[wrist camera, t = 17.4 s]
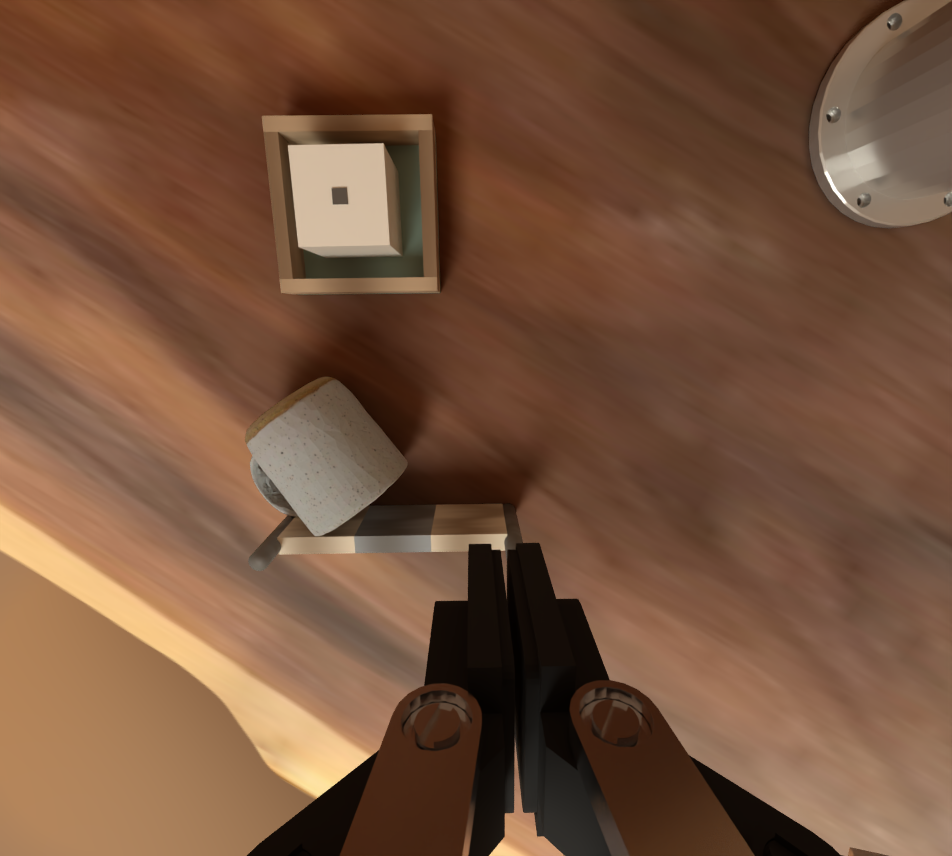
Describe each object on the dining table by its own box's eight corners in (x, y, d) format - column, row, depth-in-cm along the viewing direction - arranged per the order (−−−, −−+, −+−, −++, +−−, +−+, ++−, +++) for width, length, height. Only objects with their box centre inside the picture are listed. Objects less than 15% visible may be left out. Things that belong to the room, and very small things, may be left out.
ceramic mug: (343, 361, 32) (304, 377, 25) (417, 450, 34) (400, 490, 27) (235, 448, 34) (167, 487, 27) (310, 530, 36) (265, 588, 28)
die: (398, 170, 29) (383, 141, 24) (402, 256, 30) (389, 244, 25) (317, 172, 29) (285, 143, 24) (325, 257, 30) (296, 246, 25)
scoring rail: (515, 503, 35) (526, 548, 28) (515, 518, 35) (525, 566, 29) (290, 506, 35) (247, 553, 28) (292, 521, 35) (249, 571, 28)
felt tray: (435, 134, 29) (431, 114, 26) (440, 292, 31) (437, 290, 28) (282, 135, 29) (261, 115, 26) (298, 294, 31) (281, 292, 28)
